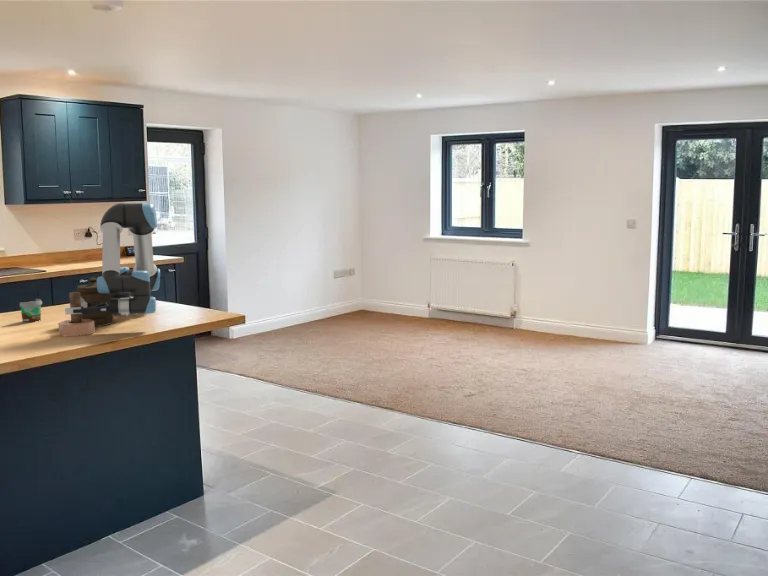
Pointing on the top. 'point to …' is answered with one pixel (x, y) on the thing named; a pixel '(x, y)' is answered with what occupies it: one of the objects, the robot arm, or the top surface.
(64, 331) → the terracotta bead
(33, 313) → the food container
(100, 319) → the wooden container
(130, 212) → the robot arm
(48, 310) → the top surface
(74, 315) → the walnut dowel
